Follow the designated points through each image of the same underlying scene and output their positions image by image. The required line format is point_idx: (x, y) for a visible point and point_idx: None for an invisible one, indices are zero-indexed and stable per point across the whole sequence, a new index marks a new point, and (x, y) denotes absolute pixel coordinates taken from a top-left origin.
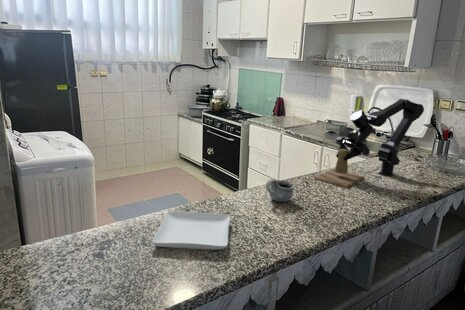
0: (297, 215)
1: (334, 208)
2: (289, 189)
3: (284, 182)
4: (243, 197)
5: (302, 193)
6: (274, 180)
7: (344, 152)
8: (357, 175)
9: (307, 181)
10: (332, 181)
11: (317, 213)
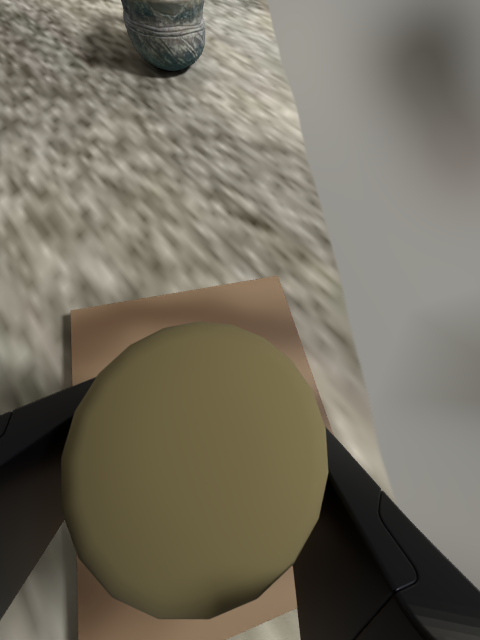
0: (67, 32)
1: (4, 111)
2: None
3: (178, 5)
4: (239, 31)
5: (170, 131)
6: None
7: (117, 356)
8: (142, 635)
9: (263, 233)
10: (170, 295)
11: (30, 62)
